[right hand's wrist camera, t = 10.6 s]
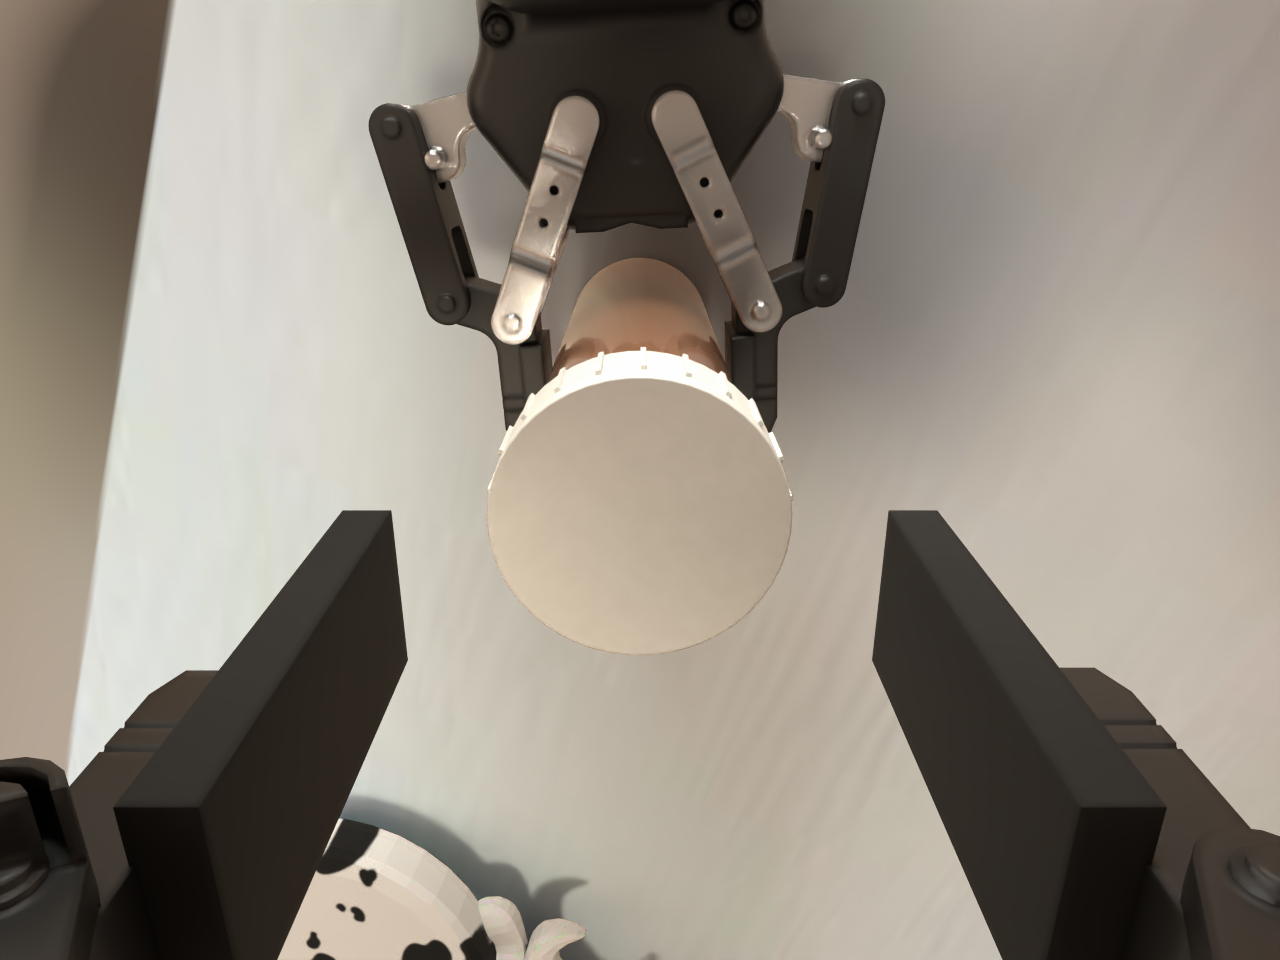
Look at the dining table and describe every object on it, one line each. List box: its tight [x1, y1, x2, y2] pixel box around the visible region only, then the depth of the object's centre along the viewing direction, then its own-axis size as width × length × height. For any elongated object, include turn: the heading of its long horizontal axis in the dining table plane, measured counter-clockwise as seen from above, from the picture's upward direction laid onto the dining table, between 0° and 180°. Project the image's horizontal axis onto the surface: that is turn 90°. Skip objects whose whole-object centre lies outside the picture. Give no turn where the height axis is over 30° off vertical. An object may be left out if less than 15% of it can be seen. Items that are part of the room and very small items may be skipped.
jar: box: [547, 258, 732, 384], centre depth 25 cm, size 5×5×18 cm
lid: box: [487, 347, 793, 655], centre depth 18 cm, size 6×6×2 cm
